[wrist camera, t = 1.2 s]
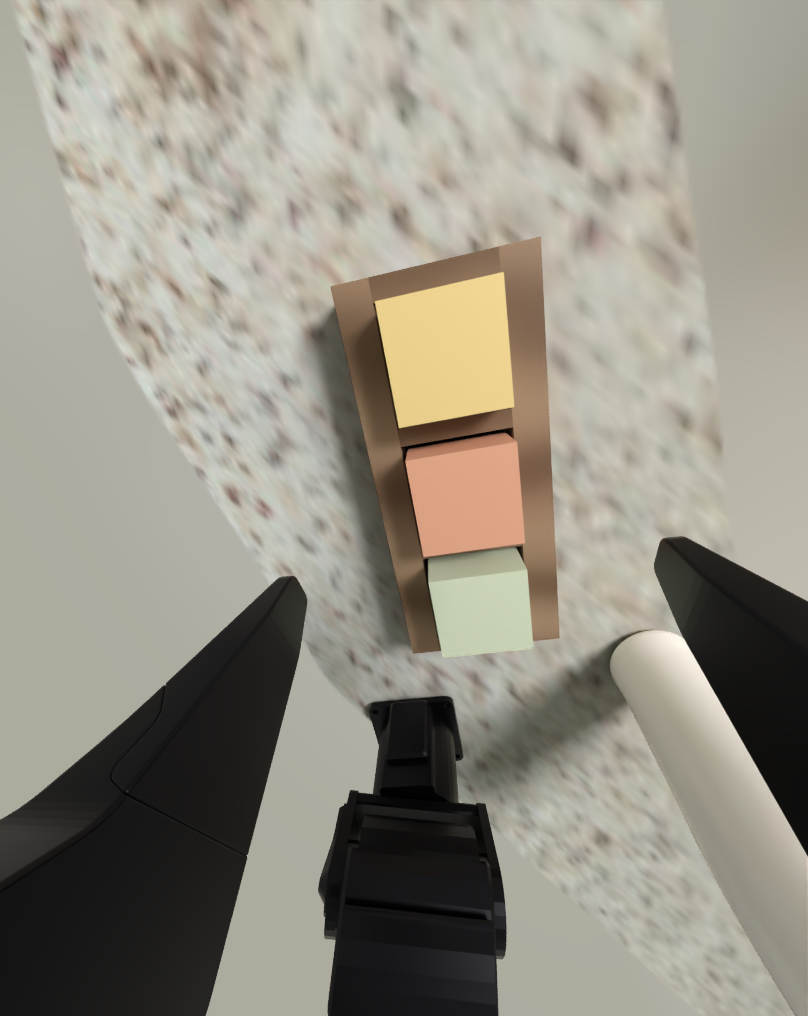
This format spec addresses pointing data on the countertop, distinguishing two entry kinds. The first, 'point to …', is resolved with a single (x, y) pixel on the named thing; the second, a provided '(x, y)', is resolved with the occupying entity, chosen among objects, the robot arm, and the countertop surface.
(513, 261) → the brown wooden slotted tray
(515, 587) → the sage key
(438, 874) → the robot arm
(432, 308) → the ochre key
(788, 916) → the white tall cylinder
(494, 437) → the terracotta key
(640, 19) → the countertop surface
